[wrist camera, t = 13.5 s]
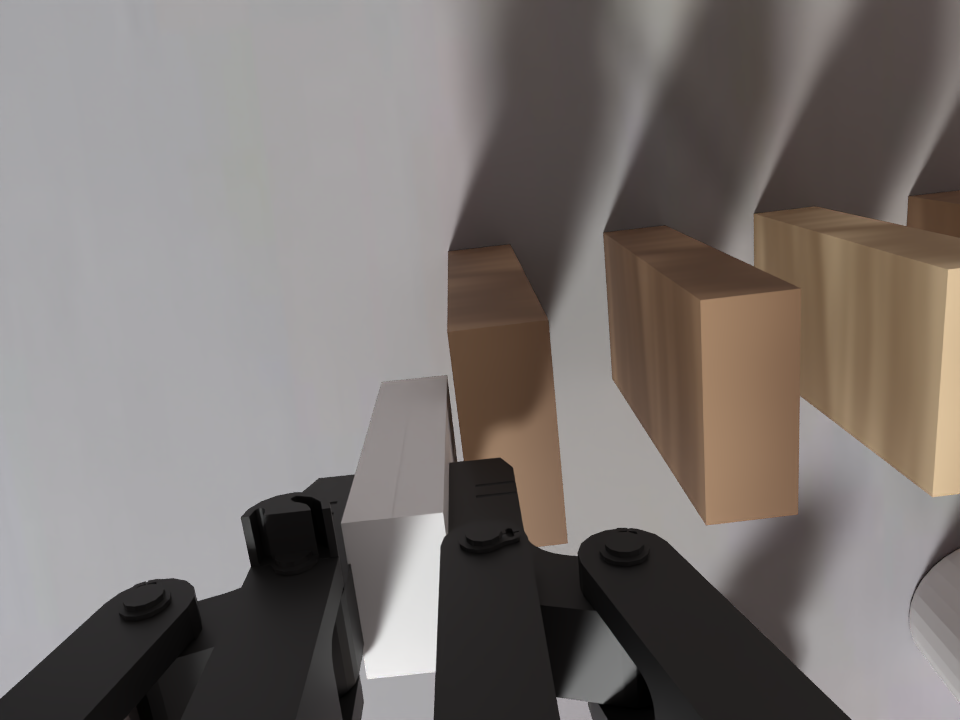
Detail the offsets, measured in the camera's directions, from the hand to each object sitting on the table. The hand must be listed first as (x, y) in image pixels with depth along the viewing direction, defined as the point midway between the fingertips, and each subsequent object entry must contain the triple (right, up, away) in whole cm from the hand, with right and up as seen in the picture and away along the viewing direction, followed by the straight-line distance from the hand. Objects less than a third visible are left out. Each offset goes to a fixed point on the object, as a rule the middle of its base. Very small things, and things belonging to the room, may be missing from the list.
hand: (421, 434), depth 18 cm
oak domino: (+11, +4, +8) cm, 14 cm away
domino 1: (+2, +3, +8) cm, 8 cm away
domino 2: (+7, +4, +8) cm, 11 cm away
